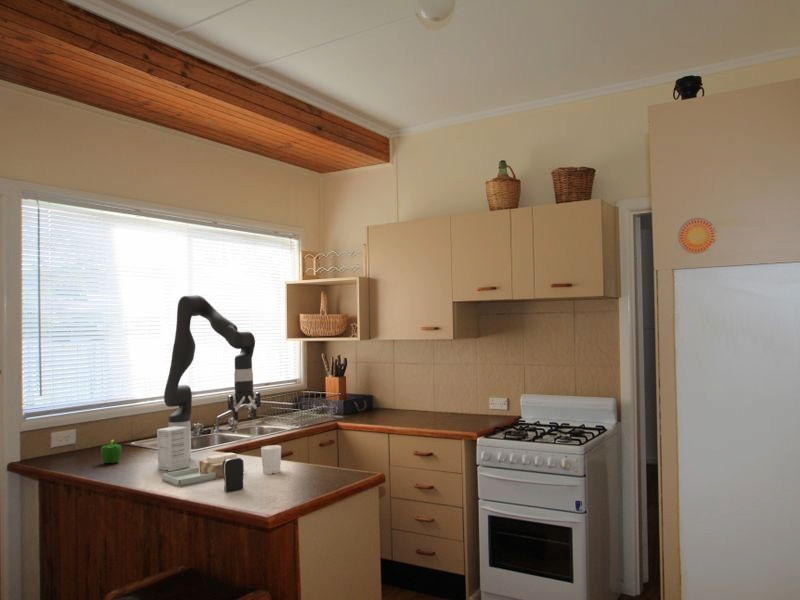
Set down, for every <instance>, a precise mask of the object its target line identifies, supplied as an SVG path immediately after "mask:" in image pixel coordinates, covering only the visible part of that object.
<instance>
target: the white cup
mask: <svg viewBox="0 0 800 600" xmlns="http://www.w3.org/2000/svg"><path fill="white" fill-rule="evenodd" d="M260 452H261V454H260V455H261V465H262V473H263V474H264V473H266V474H265V475H273V474H272V473H275V474H279V473H280V472H281V464H282V463H281V461H282V446H281V445H279V444H278V445H276V444H275V445H274V444H273V445H265V446H261V448H260ZM278 472H279V473H278Z"/></svg>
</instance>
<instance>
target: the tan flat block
mask: <svg viewBox="0 0 800 600" xmlns="http://www.w3.org/2000/svg"><path fill="white" fill-rule="evenodd" d="M244 463H245V462H244V461H243V472H245V468H244ZM222 467H223V462H219V463H213V464H212V463H209V462H207V458H206V459H202V460H201V459H200V460H199V472H201V473H204V474H209V473H214V472H215V473H216V478H217V479H221V477H222V478H224V474H223V471H222Z"/></svg>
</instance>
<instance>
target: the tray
mask: <svg viewBox="0 0 800 600" xmlns="http://www.w3.org/2000/svg"><path fill="white" fill-rule="evenodd" d="M161 479H162V481H163V480H165V481H164V482H166V481H167V482H166V483H168V482H169V483H168V484H170V485H173V484H174V485H173V486H176V485H177V486H176V487H178V486H181V487H184V486H188V485H189V486H190V485H195V484H199V482H200V483H205V482H208V481H213V479H214V480H217V479H216V473H215V472H214V473H209V474H204V473H201V472H200V466H196V467H191V468H184V469H178V470H174V471H169V472H163V473H162V478H161ZM204 481H205V482H204ZM194 483H195V484H194Z"/></svg>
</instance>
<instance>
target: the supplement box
mask: <svg viewBox="0 0 800 600" xmlns="http://www.w3.org/2000/svg"><path fill="white" fill-rule="evenodd" d="M156 431H157V432H156V434H157V435H156V441H157V443H156V444H157V470H161V469H162V470H163V471H167V470H168V471H169V472H174V471H179V470H183V469H187V468H189V467H190V459H189V435H188V427H179V426H173V427H169V426H168V427H163V428H159V429H156ZM162 470H161V471H162ZM168 471H167V472H168Z"/></svg>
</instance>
